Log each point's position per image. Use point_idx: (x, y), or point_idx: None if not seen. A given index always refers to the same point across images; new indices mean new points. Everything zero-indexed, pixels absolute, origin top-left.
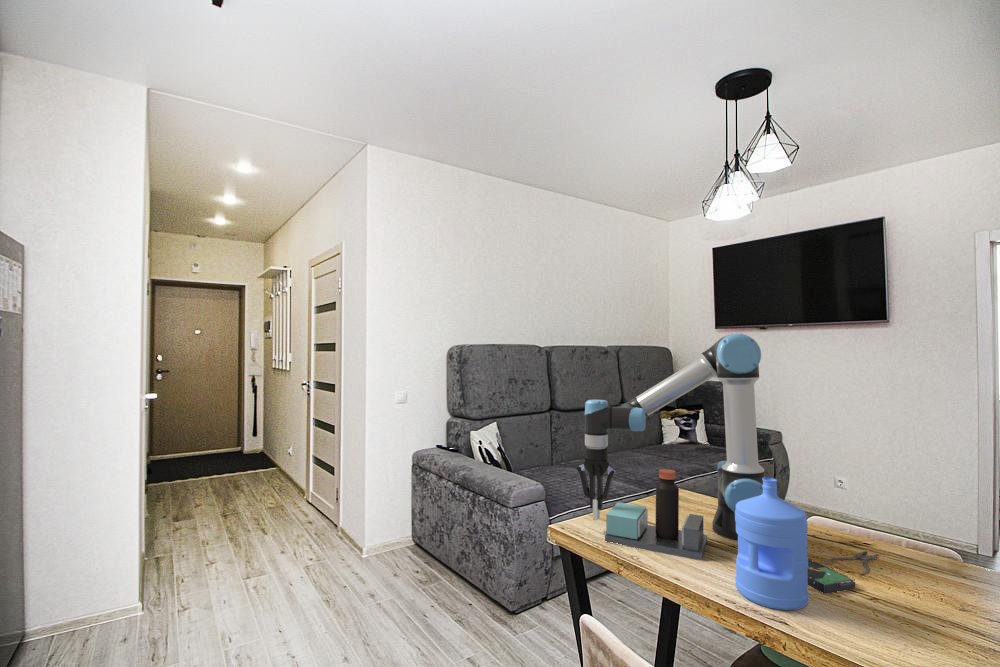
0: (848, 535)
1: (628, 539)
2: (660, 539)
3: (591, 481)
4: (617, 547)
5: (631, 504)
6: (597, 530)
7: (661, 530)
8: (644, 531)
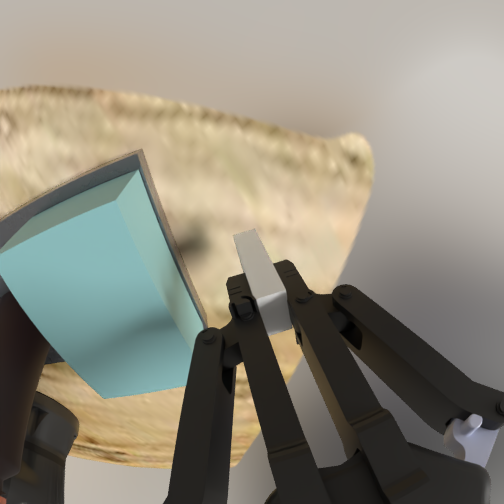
0: None
1: (50, 195)
2: None
3: (352, 393)
4: (78, 143)
5: (153, 391)
6: (237, 232)
7: (5, 305)
8: None
